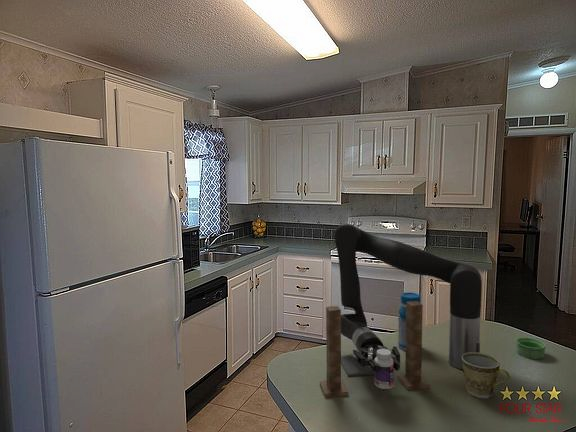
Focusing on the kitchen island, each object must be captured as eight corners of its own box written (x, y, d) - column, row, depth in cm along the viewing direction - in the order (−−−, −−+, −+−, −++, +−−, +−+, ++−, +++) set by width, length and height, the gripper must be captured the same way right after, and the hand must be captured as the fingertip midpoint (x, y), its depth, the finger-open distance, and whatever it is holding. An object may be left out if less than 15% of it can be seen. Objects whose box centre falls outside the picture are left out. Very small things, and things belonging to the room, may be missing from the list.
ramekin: (539, 363, 131) (540, 350, 131) (511, 353, 138) (511, 342, 137) (549, 355, 137) (550, 343, 136) (521, 346, 144) (521, 335, 143)
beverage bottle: (398, 351, 141) (399, 297, 139) (397, 341, 149) (397, 290, 147) (423, 353, 139) (424, 298, 137) (420, 343, 147) (421, 292, 145)
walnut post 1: (342, 383, 120) (341, 303, 117) (348, 395, 113) (348, 311, 111) (319, 385, 119) (319, 305, 117) (325, 397, 112) (324, 313, 110)
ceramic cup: (454, 391, 115) (454, 358, 114) (471, 380, 121) (472, 349, 120) (499, 411, 104) (501, 376, 103) (516, 398, 110) (517, 364, 109)
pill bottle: (394, 390, 107) (394, 356, 106) (374, 388, 108) (374, 355, 107) (393, 380, 112) (393, 348, 111) (374, 378, 113) (373, 346, 112)
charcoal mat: (371, 356, 137) (371, 354, 137) (384, 373, 125) (384, 371, 125) (338, 359, 136) (338, 357, 136) (348, 376, 124) (348, 374, 124)
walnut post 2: (418, 376, 123) (419, 299, 121) (429, 388, 116) (431, 306, 114) (397, 378, 122) (398, 300, 120) (407, 390, 115) (408, 307, 113)
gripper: (345, 333, 122) (362, 357, 106) (388, 329, 124) (412, 353, 108) (345, 356, 123) (362, 384, 106) (388, 352, 125) (412, 379, 108)
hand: (387, 368), depth 107 cm, fingers closed on pill bottle, 5 cm apart
